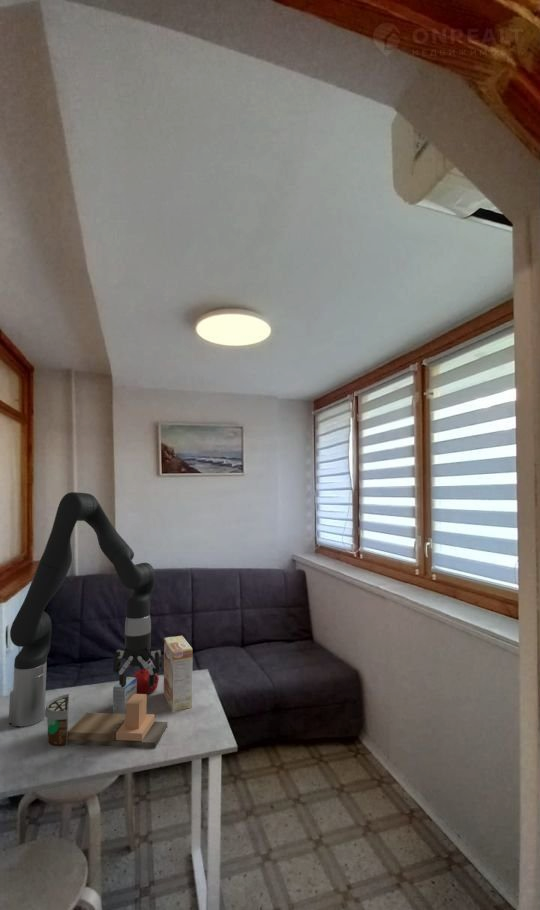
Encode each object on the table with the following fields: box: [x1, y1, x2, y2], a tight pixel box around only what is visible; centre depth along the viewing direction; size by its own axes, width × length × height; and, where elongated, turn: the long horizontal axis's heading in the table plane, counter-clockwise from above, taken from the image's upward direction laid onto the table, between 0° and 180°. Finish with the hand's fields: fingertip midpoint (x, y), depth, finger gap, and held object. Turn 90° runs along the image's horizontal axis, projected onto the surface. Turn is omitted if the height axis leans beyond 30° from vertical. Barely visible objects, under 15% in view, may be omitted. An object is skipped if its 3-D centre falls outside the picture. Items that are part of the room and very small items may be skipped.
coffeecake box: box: [163, 635, 193, 713], centre depth 150 cm, size 15×7×20 cm, turn 25°
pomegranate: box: [132, 667, 160, 695], centre depth 157 cm, size 10×10×9 cm
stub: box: [116, 694, 156, 741], centre depth 128 cm, size 8×11×9 cm
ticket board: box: [66, 712, 168, 749], centre depth 128 cm, size 26×11×4 cm, turn 86°
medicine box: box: [112, 676, 137, 714], centre depth 144 cm, size 8×4×9 cm, turn 168°
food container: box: [44, 693, 70, 747], centre depth 126 cm, size 12×6×10 cm, turn 23°
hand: (137, 686), depth 128 cm, fingers open, 8 cm apart
